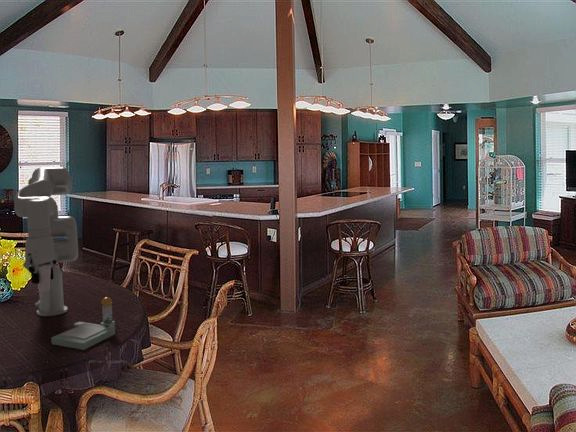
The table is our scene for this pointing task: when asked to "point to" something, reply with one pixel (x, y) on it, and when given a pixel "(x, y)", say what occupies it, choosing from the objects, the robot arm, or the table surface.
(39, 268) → the smoothie
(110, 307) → the lever
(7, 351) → the table surface
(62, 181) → the robot arm
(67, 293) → the table surface
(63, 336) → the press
